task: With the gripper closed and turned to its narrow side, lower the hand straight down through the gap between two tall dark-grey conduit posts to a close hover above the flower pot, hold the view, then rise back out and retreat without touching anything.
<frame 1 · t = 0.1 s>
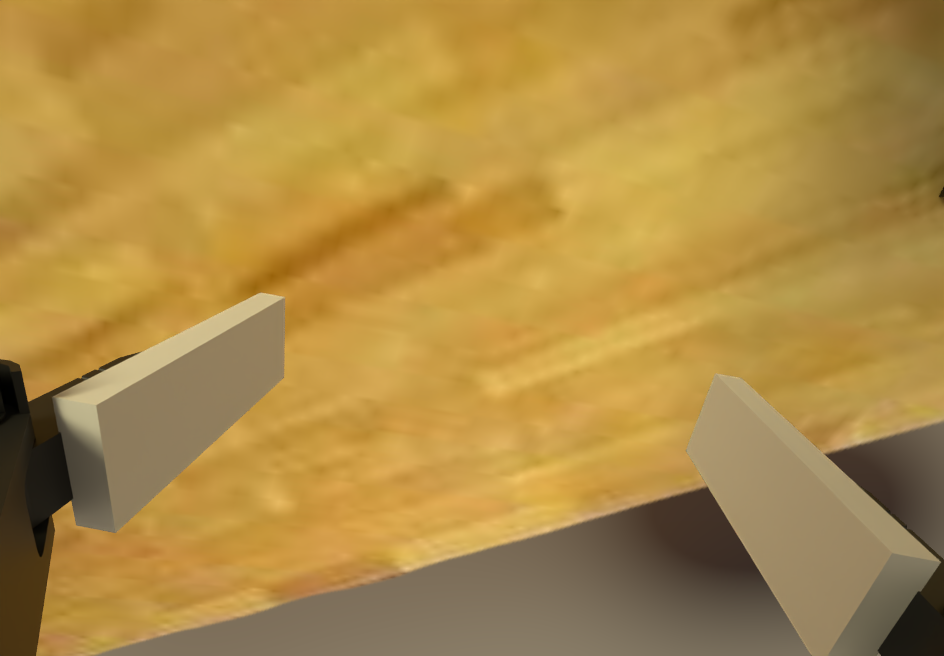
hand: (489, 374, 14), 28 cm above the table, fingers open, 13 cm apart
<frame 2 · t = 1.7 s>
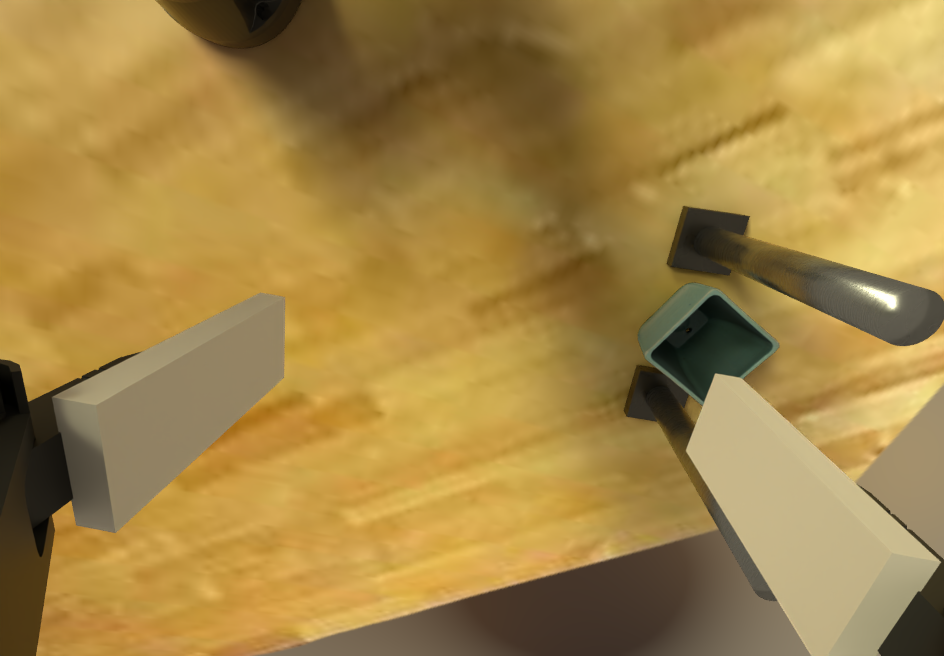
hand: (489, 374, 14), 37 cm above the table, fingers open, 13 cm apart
post 2: (703, 239, 47), on the table
flower pot: (677, 320, 50), on the table
post 1: (655, 392, 53), on the table
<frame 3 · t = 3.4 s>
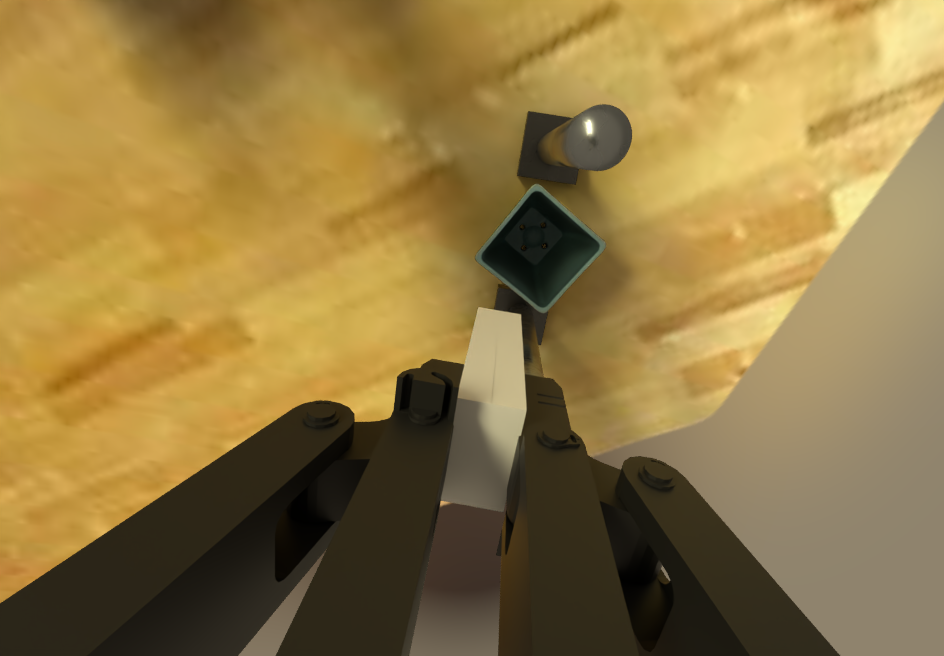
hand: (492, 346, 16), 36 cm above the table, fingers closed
post 2: (551, 149, 46), on the table
flower pot: (534, 235, 50), on the table
post 1: (519, 312, 53), on the table
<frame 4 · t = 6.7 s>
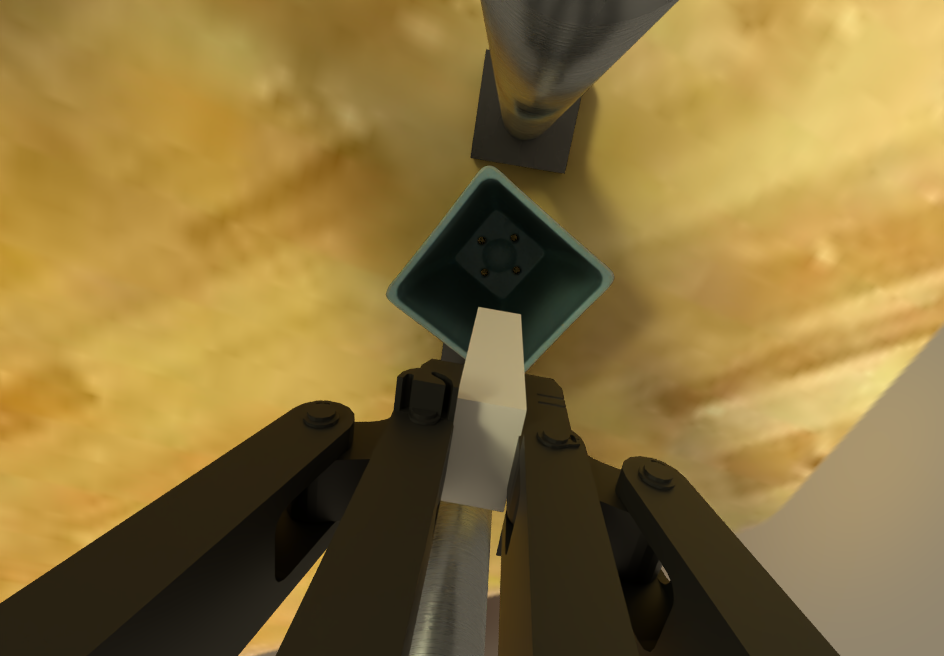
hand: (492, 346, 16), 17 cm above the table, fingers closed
post 2: (526, 116, 29), on the table
flower pot: (501, 254, 32), on the table
post 1: (480, 368, 35), on the table
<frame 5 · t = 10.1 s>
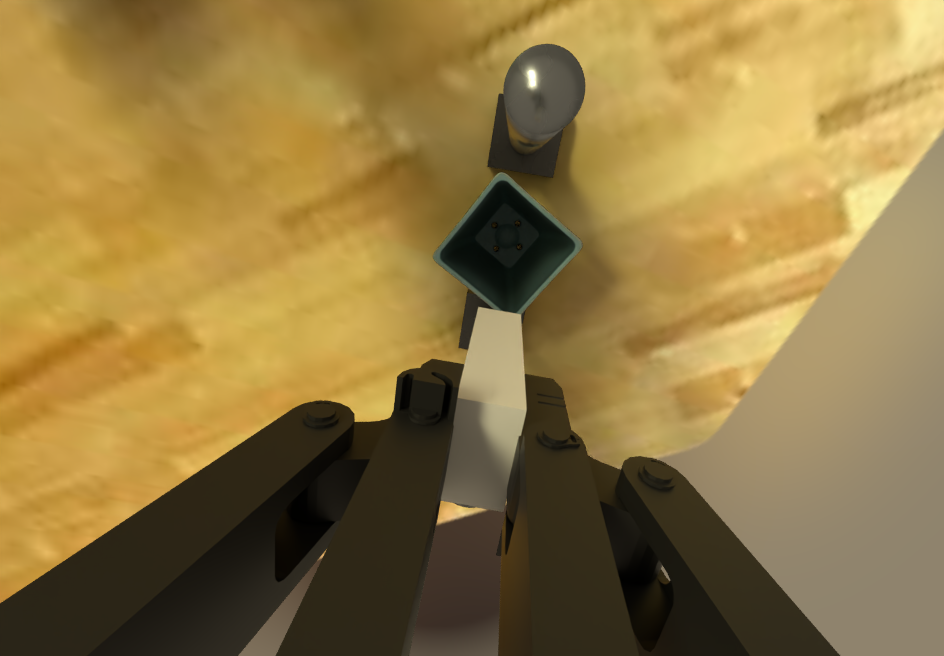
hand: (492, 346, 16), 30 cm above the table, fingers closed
post 2: (526, 137, 41), on the table
flower pot: (508, 235, 44), on the table
post 1: (492, 321, 47), on the table
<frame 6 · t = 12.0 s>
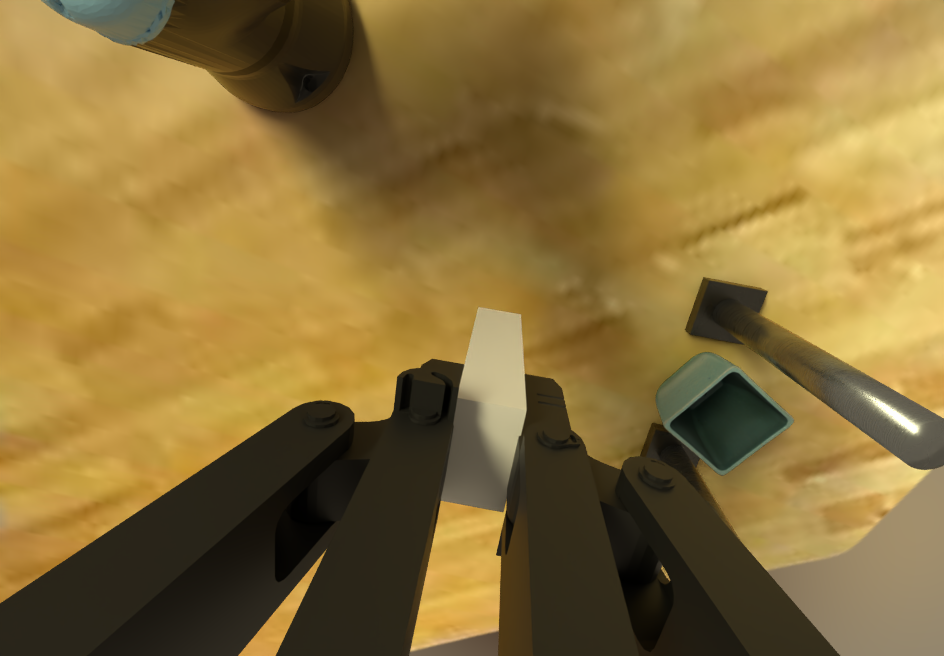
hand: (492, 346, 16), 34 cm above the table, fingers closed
post 2: (721, 309, 49), on the table
flower pot: (693, 382, 52), on the table
post 1: (668, 449, 55), on the table
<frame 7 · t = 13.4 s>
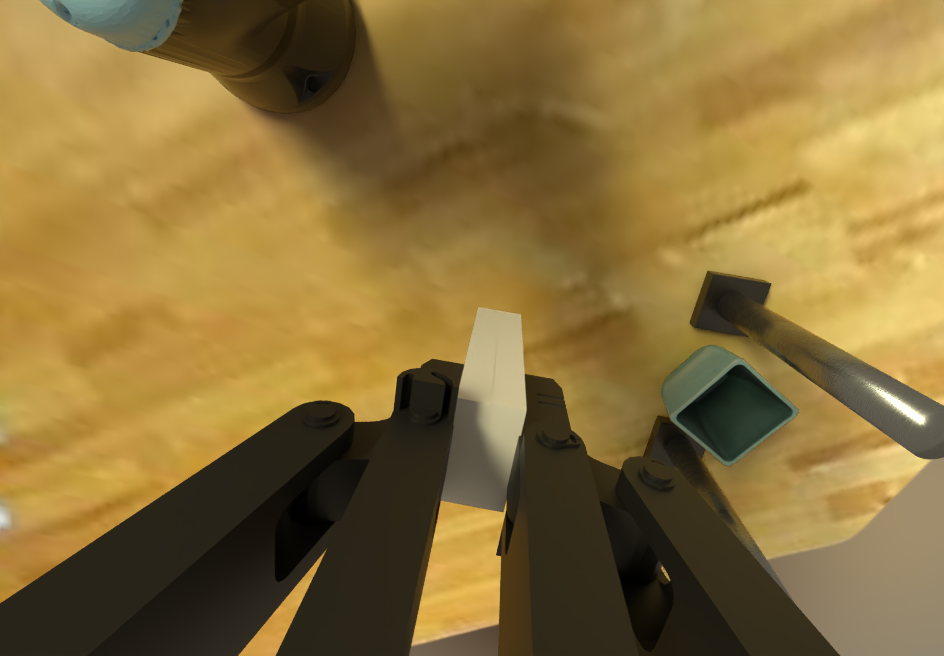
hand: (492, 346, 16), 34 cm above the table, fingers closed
post 2: (725, 302, 49), on the table
flower pot: (697, 374, 52), on the table
post 1: (674, 441, 55), on the table
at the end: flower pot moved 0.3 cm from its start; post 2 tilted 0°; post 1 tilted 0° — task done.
